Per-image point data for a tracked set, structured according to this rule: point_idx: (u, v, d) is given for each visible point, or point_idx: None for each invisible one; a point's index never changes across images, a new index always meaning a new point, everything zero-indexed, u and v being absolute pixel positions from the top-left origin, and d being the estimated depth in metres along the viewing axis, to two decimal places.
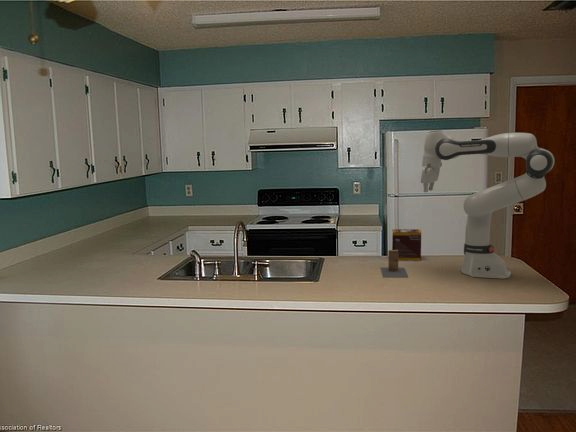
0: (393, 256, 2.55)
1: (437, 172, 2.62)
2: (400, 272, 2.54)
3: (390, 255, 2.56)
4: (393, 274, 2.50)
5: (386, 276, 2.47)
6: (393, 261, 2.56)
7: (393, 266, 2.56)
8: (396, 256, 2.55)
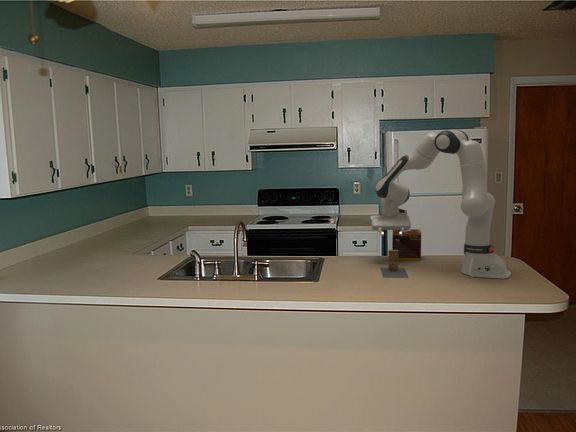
0: (393, 256, 2.55)
1: (404, 219, 2.71)
2: (400, 272, 2.54)
3: (390, 255, 2.56)
4: (393, 274, 2.50)
5: (386, 276, 2.47)
6: (393, 261, 2.56)
7: (393, 266, 2.56)
8: (396, 256, 2.55)
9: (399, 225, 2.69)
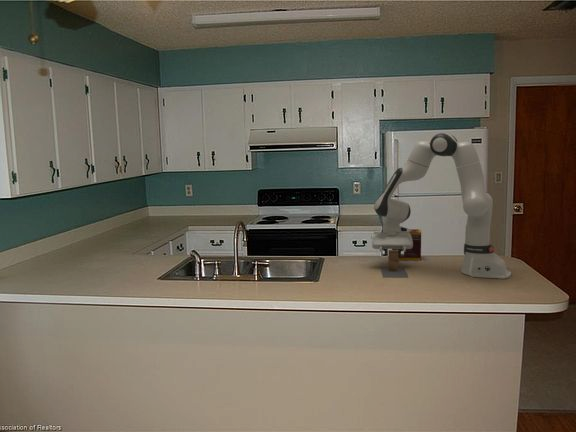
0: (393, 256, 2.55)
1: (406, 238, 2.62)
2: (400, 272, 2.54)
3: (390, 255, 2.56)
4: (393, 274, 2.50)
5: (386, 276, 2.47)
6: (393, 261, 2.56)
7: (393, 266, 2.56)
8: (396, 256, 2.55)
9: (401, 244, 2.60)
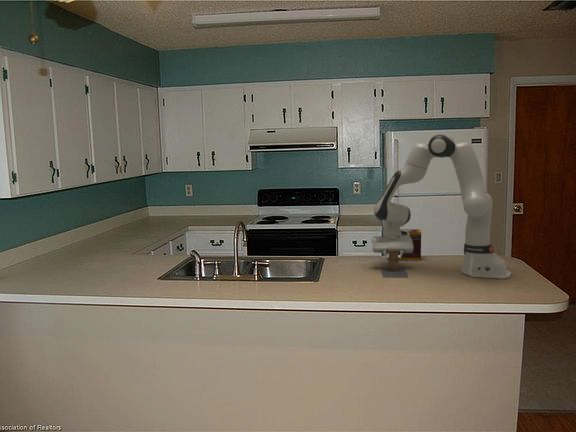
0: (393, 256, 2.55)
1: (407, 241, 2.60)
2: (400, 272, 2.54)
3: (390, 255, 2.56)
4: (393, 274, 2.50)
5: (386, 276, 2.47)
6: (393, 261, 2.56)
7: (393, 266, 2.56)
8: (396, 256, 2.55)
9: (401, 248, 2.58)
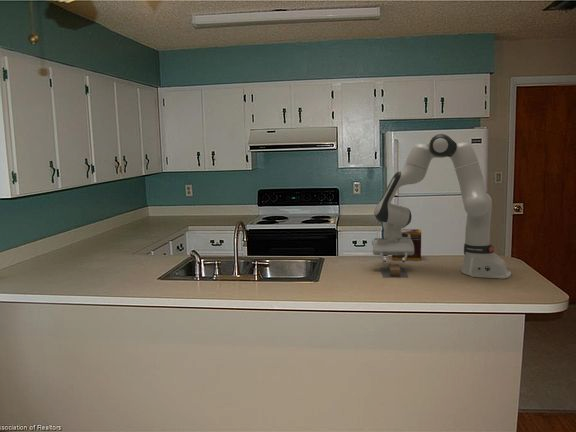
0: None
1: (408, 244, 2.56)
2: (400, 272, 2.54)
3: None
4: None
5: (386, 276, 2.47)
6: None
7: None
8: None
9: (402, 250, 2.54)
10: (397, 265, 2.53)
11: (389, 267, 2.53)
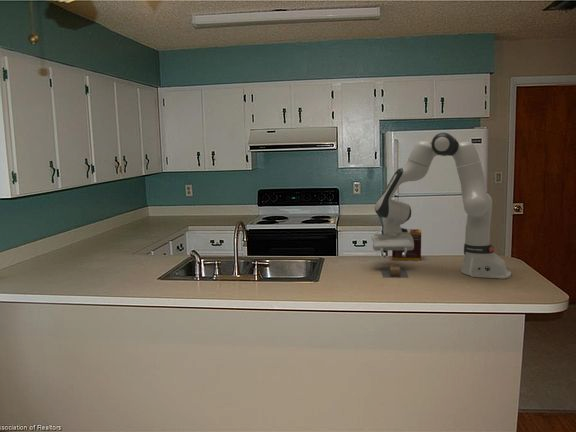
0: None
1: (407, 239, 2.59)
2: (400, 272, 2.54)
3: None
4: None
5: (386, 276, 2.47)
6: None
7: None
8: None
9: (402, 245, 2.57)
10: (397, 265, 2.53)
11: (389, 267, 2.53)
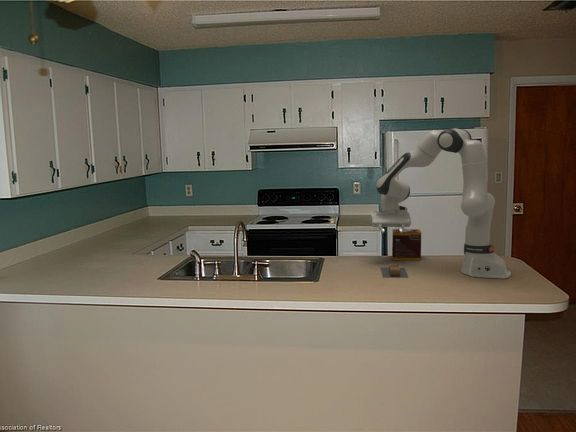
0: None
1: (405, 216, 2.70)
2: (400, 272, 2.54)
3: None
4: None
5: (386, 276, 2.47)
6: None
7: None
8: None
9: (399, 222, 2.68)
10: (397, 265, 2.53)
11: (389, 267, 2.53)
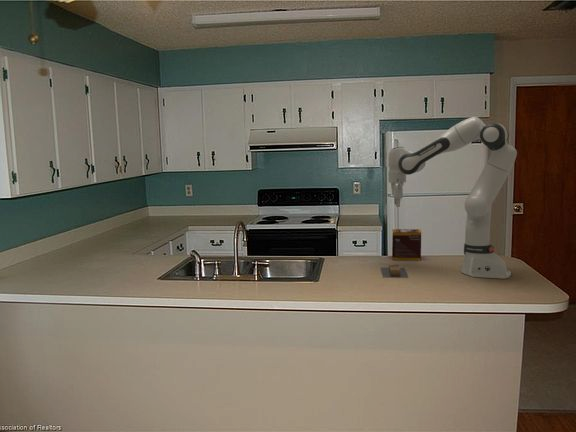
0: None
1: None
2: (400, 272, 2.54)
3: None
4: None
5: (386, 276, 2.47)
6: None
7: None
8: None
9: None
10: (397, 265, 2.53)
11: (389, 267, 2.53)
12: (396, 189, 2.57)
